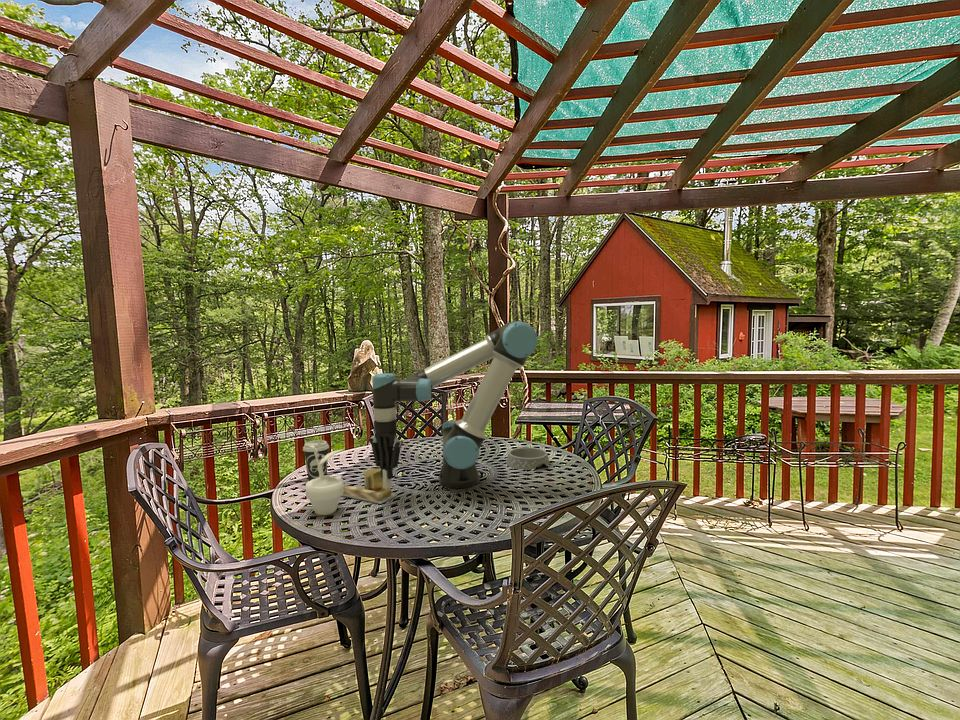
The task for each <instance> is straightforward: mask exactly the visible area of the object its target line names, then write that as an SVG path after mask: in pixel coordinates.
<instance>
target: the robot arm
mask: <svg viewBox="0 0 960 720" xmlns="http://www.w3.org/2000/svg"><path fill="white" fill-rule="evenodd" d="M537 346H538V334H537V332H536V330H535V329H534V328H533V327H532V325H530V324H528V323H527V322H524V321H518V320H517V321H508V322H507V323H505V324H503V325H502V326H500V327H498V328H497V329H496V330H494V331H492V332H490V333H488V334H486V336H485V338H484V339H483V340H480V341H478V342H477V343H475V344H472V345H470V346H467V347H466V348H464V349H462V350H460V351H458V352H456V353H454V354H452V355H450V356H448V357H446V358H443V359H442V360H439V361H438V362H436V363H433V364H432V365H430V366H428V367H425V368H424V369H422V370H420V371H418V372H415V373H412V374H410V375H408V376H407V377H406V378H405V379H404V378H403V379H402V378H401V379H400V378H399V379H398V378H396V375H395V373H391V372H390V373H387V372H384V373H376V374H374V375H373V377H372V387H371V388H372V389H371V390H372V404H373V405H372V406H373V408H372V409H373V420H374V421H373V431H374V436H373V437H371V438H369V439H368V441H369V443H370V446H371V449H372V455H373V458H374V463H375V466H376V467H378V468H380V469H381V477H382V478H383V488H384V489H388V488H389V489H391V488H392V478H393V477H394V475H393V474H394V471H393V470H394V469H395V468H398V464H399V459H400V454H401V447H402V446H403V443H404V441H403V440H400V439H398V435H397V428H398V425H397V424H398V423H397V419H396V418H397V404H396V403H398V402H399V403H401V402H420V403H421V402H425V401H430V400H431V399H432V389H433V388H435V387H438V386H439V385H441V384H443V383H445V382H447V381H449V380H451V379H453V378H455V377H457V376H459V375H462V374H463V373H465V372H467V371H470V370H472V369H473V368H476V367H478V366H480V365H482V364H484V363H486V362H487V361H490V360H492V361H491V363H490V365H489V367H488V368H487V370H486V372H485V374H484V377H483V378H482V380H481V381H480V384H479V386H478V387H477V388H476V391H475V393H474V395H473V396H472V398H471V401H470V403H469V405H468V407H467V408H466V411H465V412H464V414H463V416H462V418H461V419H458V420H448V421H444V422H443V423H442V429H441V432H442V461H443V462H442V466H441V469H440V472H439V476H438V483H440V484H439V485H440V486H442V487H444V488H448V489H467V487H468V488H470V487H471V486H472V487H475V486H477V485H478V484H479V483H480V474H479V469H478V467H477V465H476V462H477V460H478V459H479V455H480V449H481V447H482V444H484V441H485V439H486V433H485V430H486V428H487V426H488V424H489V422H490V420H491V418H492V417H493V415H494V412H495V410H496V408H497V406H498V405H499V403H500V401H501V399H502V397H503V396H504V394H505V392H506V389H507V387H508V386H509V384H510V382H511V380H512V378H513V376H514V374H515V372H516V371H517V370H519V369H521V368H523V367H524V365H525V364H526V362H527V359H528V357H529V356H531V355H532V354H533V353H534V352H535V350H536V349H537ZM476 484H477V485H476ZM474 485H475V486H474Z"/></svg>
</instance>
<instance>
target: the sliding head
mask: <svg viewBox="0 0 960 720" xmlns="http://www.w3.org/2000/svg"><path fill="white" fill-rule="evenodd" d="M363 476H364V477H363V478H364V479H363V480H364V481H363V482H364V487H365V489H367V490H372V491H379V490H381V489H383V478H382V477H381V469H379V468H372V469H369V470H367V471H364V473H363Z"/></svg>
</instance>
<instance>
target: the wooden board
mask: <svg viewBox="0 0 960 720" xmlns="http://www.w3.org/2000/svg"><path fill="white" fill-rule="evenodd" d="M356 487H357V488H362V489H365V486H361V485H357V486H356ZM342 497H346V498H351V499H356V500H360V501H364V502H365V501H366V502H369V503H374V504H378V505H382V504H384V503H386V502H387V501H390V500H391V499H393V498H395V497H397V493H396V492H392V491H391V494H389V495H387V496H385V497H383V498H382V500H381V501H379V502H378V501H373V500H369V499H364V498H359V497H355V496H350V495H345V494H343V495H342Z"/></svg>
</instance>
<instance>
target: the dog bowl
mask: <svg viewBox="0 0 960 720" xmlns="http://www.w3.org/2000/svg"><path fill="white" fill-rule="evenodd" d="M507 453H508V454H507V459H506V462H505V465H506V464H507V466H509V467H511V468H515V469H523V470H532V469H535V470H536V469H537V468H540V467H539V466H541V467H542V466H544V465H545V466H546V467H547V466H548V465H549V464H550V465H551V463H550V460H549V456H548V452H547V451H546V450H544V449H542V448H537V447H529V446H527V447H526V446H525V447H518V448H517V447H516V448H512V449H511V450H509V451H508V452H507ZM507 466H506V467H507ZM509 467H508V468H509ZM536 467H537V468H536ZM511 468H510V469H511Z"/></svg>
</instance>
